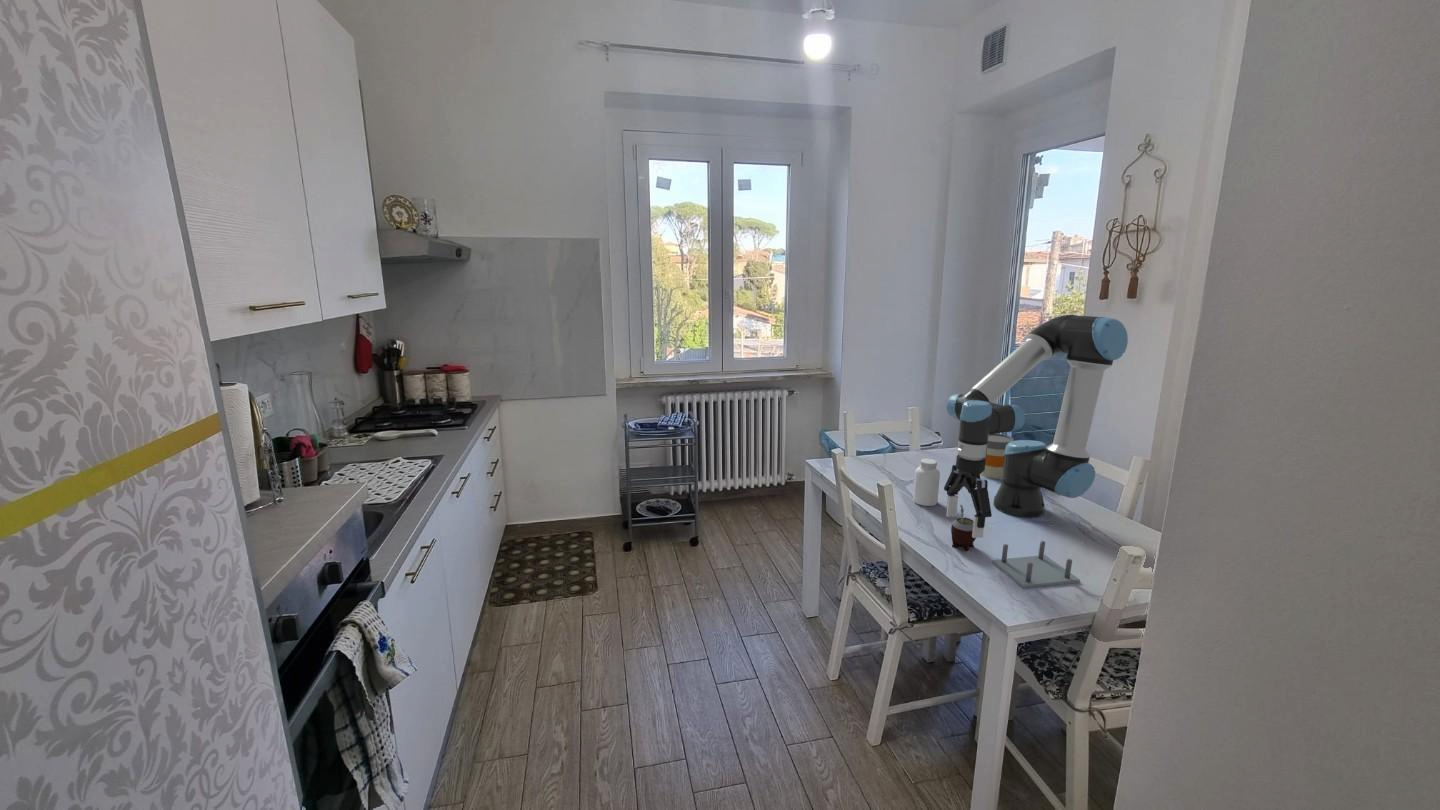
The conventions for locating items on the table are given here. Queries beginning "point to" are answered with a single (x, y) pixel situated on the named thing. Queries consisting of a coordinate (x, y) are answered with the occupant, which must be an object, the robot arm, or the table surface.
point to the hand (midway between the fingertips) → (963, 526)
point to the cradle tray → (1035, 569)
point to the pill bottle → (926, 483)
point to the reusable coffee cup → (995, 455)
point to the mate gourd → (962, 532)
